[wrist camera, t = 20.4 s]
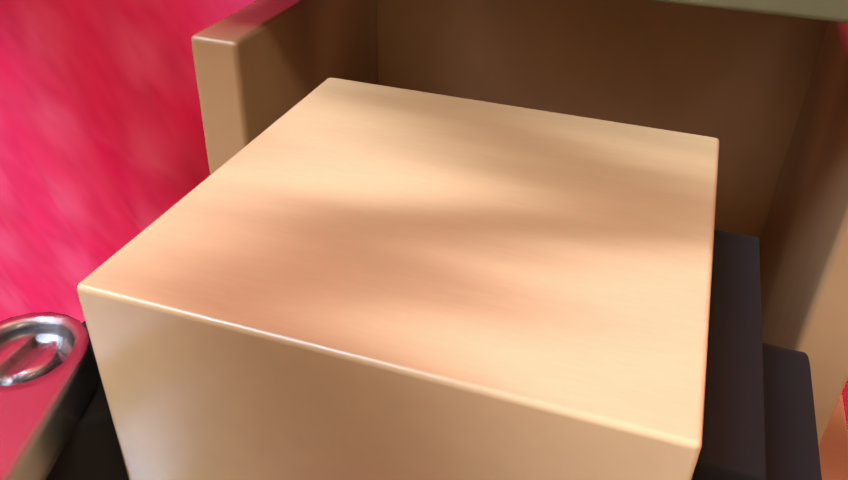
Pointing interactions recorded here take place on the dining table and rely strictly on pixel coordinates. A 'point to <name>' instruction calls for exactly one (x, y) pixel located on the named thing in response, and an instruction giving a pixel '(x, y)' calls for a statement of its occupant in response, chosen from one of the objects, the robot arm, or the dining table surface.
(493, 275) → the block
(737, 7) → the drawer
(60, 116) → the dining table surface
